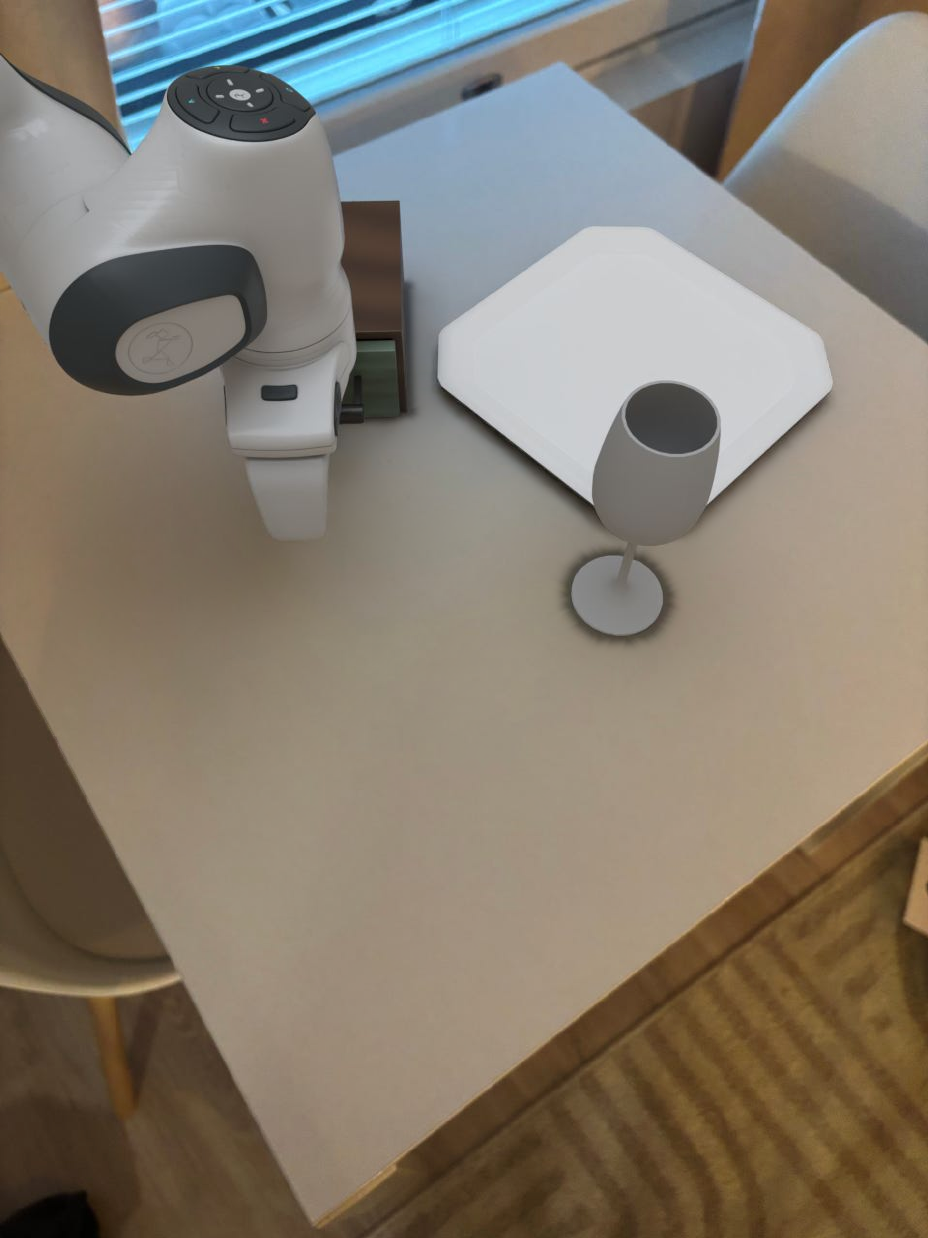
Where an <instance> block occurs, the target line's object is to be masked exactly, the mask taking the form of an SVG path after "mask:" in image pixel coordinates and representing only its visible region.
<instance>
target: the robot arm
mask: <svg viewBox="0 0 928 1238" xmlns="http://www.w3.org/2000/svg"><path fill="white" fill-rule="evenodd" d="M341 202H342V199H341V194H340V188H339V182H338V177H337V171H336V167H335V161H334V158H333V153H332V149H331V146H330V143H329V138H328V136H327V133H326V130H325V127H324V124H323V122H322V120H321V117H320V116H319V114H318V112H317V111H316V109H315V107H314V106H313V105H312V104H311V103H310V102H309V100H307V99H306V97H304V96H303V95H302V94H301V93H299V91H298V90H297V89H295V88H294V87H293V86H291V84H288V82H285V81H284V80H282V79H281V78H279V77H278V76H276V75H274V74H271V73H269V72H268V73H267V72H264V71H261V70H257V69H254V68H250V67H247V66H241V65H233V64H231V65H230V64H220V65H219V64H218V65H217V64H216V65H210V66H204V67H200V68H196V69H192V70H190V71H186V72H184V73H182V74H181V75H179V76H178V77H176V78H175V79H174V80H173V81H172V82H171V83H169V86H168V87H167V88H166V91H165V93H164V96H163V99H162V102H161V105H160V109H159V111H158V115H157V117H156V118H155V120H154V122H153V124H152V126H151V127H150V128H149V130H148V132H147V133H146V134H145V135H144V137H143V139H142V140H141V142H140V143H139V144H138V146H137V147H136V149H134V150H133V152H131V150H130V149H129V147H128V146H127V144H126V142H125V141H124V139H123V138H122V136H121V135H120V133H119V132H118V130H117V129H116V128H115V126H114V125H113V124H112V123H111V122H110V121H109V120H108V119H107V118H106V117H105V116H104V115H103V114H101V112H99V111H98V110H96V109H95V108H94V107H93V106H91V105H89V104H88V103H86V102H84V101H82V100H81V99H80V98H77V97H76V96H73V95H71V94H69V93H67V92H66V91H63V90H61V89H59V88H56V87H54V86H52V85H50V84H48V83H46V82H43V81H41V80H40V79H38V78H36V77H34V76H32V75H30V74H28V73H26V72H25V71H23V70H22V69H20V68H19V67H17V66H16V65H15V64H13V63H12V62H11V61H10V60H8V58H6V57H5V56H4V54H2V53H1V52H0V272H1V273H2V275H3V276H4V278H5V280H6V281H7V283H8V284H9V286H10V288H11V289H12V291H13V292H14V295H15V296H16V297H17V300H19V302H20V304H21V306H22V308H23V309H24V311H26V314H27V316H28V317H29V320H30V321H31V323H32V324H33V326H34V328H35V329H36V331H37V333H38V334H39V335H40V337H41V338H42V340H43V342H44V343H45V345H46V346H47V348H48V350H49V351H50V352H51V354H52V355H53V357H54V359H55V361H56V363H57V364H58V366H59V367H60V368H61V369H62V371H64V372H65V374H66V375H68V377H70V378H71V379H73V381H75V382H76V383H78V384H80V385H82V386H84V387H86V388H88V389H91V390H93V391H96V392H100V393H103V394H109V395H114V396H124V397H137V396H138V397H139V396H147V395H153V394H158V393H162V392H165V391H170V390H171V389H174V388H177V387H180V386H182V385H184V384H187V383H189V382H192V381H194V380H196V379H199V378H201V377H203V376H205V375H206V374H208V373H210V372H213V371H214V370H215V369H217V368H219V370H220V374H221V377H222V379H223V395H224V415H225V425H226V436H227V443H228V445H229V448H230V452H231V453H232V455H233V456H236V457H243V459H244V467H245V471H246V476H247V480H248V484H249V487H250V489H251V494H252V496H253V499H254V501H255V504H256V506H257V510H258V512H259V514H260V517H261V520H262V522H263V524H264V527H265V530H266V531H267V533H268V534H269V535H270V536H271V538H273V539H275V540H279V541H291V542H294V541H295V542H296V541H310V540H316V539H319V538H321V537H323V536H325V534H326V531H327V527H328V508H329V507H328V504H329V503H328V502H329V501H328V500H329V499H328V498H329V468H330V454H334V453H335V451H336V449H337V444H338V443H337V442H338V437H339V431H340V430H339V429H340V425H339V418H340V412H341V405H342V399H343V396H344V393H345V390H346V387H347V383H348V379H349V374H350V372H351V370H352V369H353V366H354V364H355V360H356V354H357V347H356V337H355V328H354V320H353V310H352V299H351V290H350V285H349V281H348V278H347V276H346V274H345V271H344V269H343V267H342V265H341V258H342V254H343V250H344V242H345V234H344V223H343V215H342V207H341Z"/></svg>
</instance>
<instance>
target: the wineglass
mask: <svg viewBox="0 0 928 1238" xmlns="http://www.w3.org/2000/svg"><path fill="white" fill-rule="evenodd" d="M720 438H721V417H720V414H719V411H718V409H717V407H716V406H715V404H714V403H713V401H712V400H711V399H710V398H709V397H708V396H707V395H706V394H705V393H704V392H702V391H700V390H699V389H697V388H695V387H693V386H691V385H688V384H686V383H683V382H677V381H672V380H660V381H655V382H649V383H647V384H644V385H642V386H640V387H638V388H637V389H635V390H634V391H633V392H631V393H630V395H629V396H628V397H627V398H626V400H625V401H624V403H623V404H622V406H621V408H620V409H619V411H618V413H617V415H616V417H615V419H614V421H613V423H612V425H611V427H610V429H609V431H608V434H607V436H606V438H605V441H604V443H603V446H602V448H601V451H600V453H599V456H598V459H597V461H596V464H595V467H594V472H593V480H592V499H593V503H594V507H595V508H594V507H593V508H594V509H595V512H596V513H597V516H598V517H599V520H600V521H601V523H602V525H603V526H604V528H606V529H607V531H609V533H610V534H612V535H614V536H615V537H616V538H617V539H619V540H621V541H624V542H626V547H625V550H624V554H623V555H604V556H600V557H597V558H594V559H592V560H590V561H588V562H587V563H585V564H584V565H583V566H582V567H580V568H579V570H578V571H577V573H576V574H575V576H574V578H573V581H572V584H571V593H570V597H571V601H572V605H573V608H574V610H575V612H576V614H577V615H578V616H579V618H580V619H581V620H582V621H583V622H584V623H585V624H586V625H587V626H589V627H590V628H591V629H593V630H595V631H598V632H599V633H602V634H605V635H610V636H614V637H627V636H631V635H637V634H639V633H642V632H643V631H645V630H647V629H648V628H649V627H650V626H652V625H653V624H654V623H655V622H656V620H657V619H658V617H659V615H660V613H661V611H662V608H663V605H664V592H663V589H662V585H661V583H660V581H659V579H658V578H657V576H656V575H655V573H654V572H653V571H652V570H651V569H650V568H649V567H647V566H646V565H645V564H643V563H642V562H641V561H639V560H636V559H634V557H635V554H636V551H637V548H638V546H641V547H658V546H663V545H667V544H669V543H671V542H673V541H676V540H678V539H679V538H681V537H683V536H684V535H685V534H687V533H688V532H689V531H690V530H691V529H693V528H694V526H695V525H696V523H697V522H698V521H699V519H700V518H701V517H702V514H703V512H705V509H706V508H707V506H706V505H707V502H708V500H709V497H710V494H711V490H712V486H713V482H714V478H715V473H716V468H717V463H718V457H719V449H720Z"/></svg>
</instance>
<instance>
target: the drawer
mask: <svg viewBox="0 0 928 1238" xmlns="http://www.w3.org/2000/svg"><path fill="white" fill-rule="evenodd" d="M356 347H357V354H356V360H355V364H354V366H353V369H352V370H351V372H350V374H349V379H348V383H347V387H346V390H345V393H344V396H343V399H342V405H341V412H340V418H339V426H341V425H364V424H365V418H381V417H383V418H387V417H400V416H401V412H400V403H399V389H398V375H397V360H396V346H395V340H391V338H388V339H356Z"/></svg>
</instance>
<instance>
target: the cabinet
mask: <svg viewBox="0 0 928 1238" xmlns="http://www.w3.org/2000/svg"><path fill="white" fill-rule="evenodd" d="M341 207H342V215H343V223H344V234H345V242H344V250H343V254H342V258H341V265H342V267H343V269H344V271H345V274H346V276H347V278H348V281H349V285H350V290H351V299H352V310H353V320H354V328H355V337H356V339H388V338H391V340H395V346H396V360H397V375H398V389H399V403H400V413H407V412H408V396H407V395H408V394H407V393H408V389H407V347H406V345H407V343H406V341H407V339H406V297H405V296H406V295H405V290H406V289H405V273H404V271H405V269H404V253H403V252H404V251H403V235H402V215H401V201H400V199H399V200H398V199H397V200H350V201H349V200H348V201H346V200H345V201H344V200H343V201H342V200H341Z"/></svg>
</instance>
